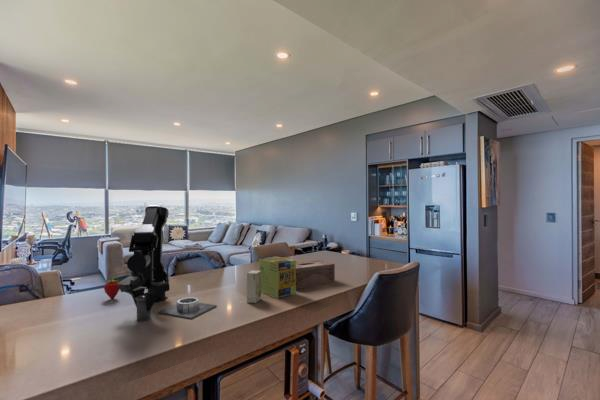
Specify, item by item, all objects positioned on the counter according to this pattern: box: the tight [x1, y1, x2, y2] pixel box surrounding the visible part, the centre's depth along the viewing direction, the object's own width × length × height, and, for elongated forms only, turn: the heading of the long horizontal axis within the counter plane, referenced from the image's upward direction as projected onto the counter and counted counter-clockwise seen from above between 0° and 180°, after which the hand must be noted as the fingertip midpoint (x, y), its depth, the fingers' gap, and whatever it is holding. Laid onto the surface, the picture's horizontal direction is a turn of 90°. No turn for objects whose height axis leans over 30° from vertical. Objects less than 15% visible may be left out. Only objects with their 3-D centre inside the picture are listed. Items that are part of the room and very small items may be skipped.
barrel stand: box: [157, 296, 218, 320], centre depth 113 cm, size 16×14×4 cm
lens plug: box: [136, 295, 152, 322], centre depth 104 cm, size 5×5×8 cm
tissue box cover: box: [296, 259, 336, 290], centre depth 154 cm, size 26×14×10 cm, turn 119°
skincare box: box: [246, 269, 262, 304], centre depth 124 cm, size 6×4×12 cm
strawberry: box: [103, 276, 120, 300], centre depth 127 cm, size 6×8×10 cm
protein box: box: [258, 256, 297, 300], centre depth 136 cm, size 10×15×16 cm
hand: (143, 310), depth 104 cm, fingers closed on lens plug, 4 cm apart
